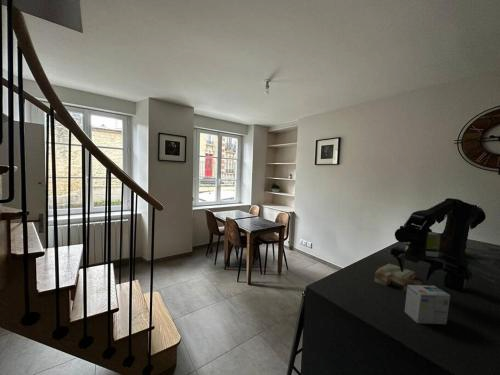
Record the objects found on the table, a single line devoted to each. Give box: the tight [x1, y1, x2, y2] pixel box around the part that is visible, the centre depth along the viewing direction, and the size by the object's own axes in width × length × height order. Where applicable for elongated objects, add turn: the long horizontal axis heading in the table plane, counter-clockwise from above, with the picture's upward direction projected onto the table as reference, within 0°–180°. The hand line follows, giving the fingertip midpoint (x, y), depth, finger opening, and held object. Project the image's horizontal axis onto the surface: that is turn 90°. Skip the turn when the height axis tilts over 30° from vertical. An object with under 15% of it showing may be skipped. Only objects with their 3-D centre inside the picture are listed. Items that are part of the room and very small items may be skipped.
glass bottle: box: [437, 211, 455, 254], centre depth 153 cm, size 18×18×28 cm
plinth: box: [376, 262, 416, 286], centre depth 111 cm, size 12×14×3 cm
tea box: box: [405, 231, 440, 258], centre depth 147 cm, size 15×10×15 cm
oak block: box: [374, 269, 392, 287], centre depth 104 cm, size 5×5×5 cm
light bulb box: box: [404, 284, 451, 325], centre depth 78 cm, size 11×7×11 cm, turn 92°
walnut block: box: [403, 277, 423, 293], centre depth 97 cm, size 5×5×5 cm
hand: (414, 276), depth 96 cm, fingers open, 9 cm apart
